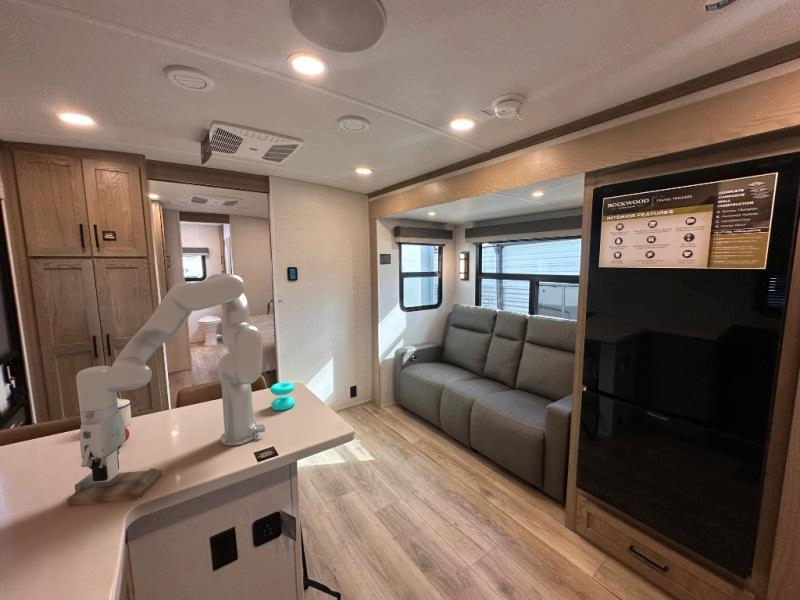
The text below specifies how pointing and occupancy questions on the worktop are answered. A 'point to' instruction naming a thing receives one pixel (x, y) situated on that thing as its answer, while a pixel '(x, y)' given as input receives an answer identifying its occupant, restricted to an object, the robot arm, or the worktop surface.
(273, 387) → the donuts
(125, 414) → the teacup with lid
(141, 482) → the wooden slider board
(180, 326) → the robot arm
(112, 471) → the fader
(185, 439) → the worktop surface
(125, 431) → the onion
